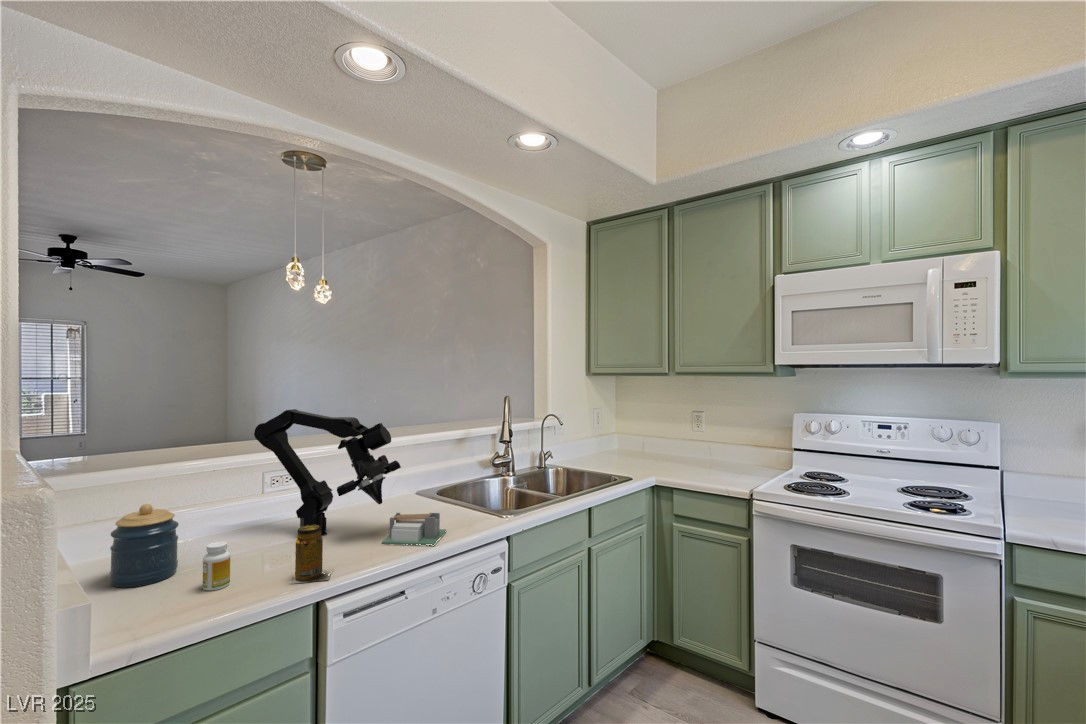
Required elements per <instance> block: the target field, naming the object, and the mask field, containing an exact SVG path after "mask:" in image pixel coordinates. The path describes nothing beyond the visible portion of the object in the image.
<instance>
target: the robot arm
mask: <svg viewBox="0 0 1086 724" xmlns="http://www.w3.org/2000/svg"><path fill="white" fill-rule="evenodd" d="M293 425H298V426H304V427H309V428H313V429H319V430H324V431H325V432H328V433H329V434H331V435H333V436H336V437H338V438H341V439H340V443H339V445H338V447H337V449H338V450H342V449H346V452H347V454H348V457H349V459H350V461H351V467H352V468H353V469H354V470H355V474H356V480H354V479H352V480H350V481H347V482H345V483H343V484H341V485H339V486H337V488H336V492H337V495H338V497H341V496H343V495H346V494H348V493H350V492H353V491H354V490H356V488H357V487H358V488H357V491H363V492H364V493H365V494H366V495H367V496H369V497H370V498H372V500H373V501H375V503H376V504H378V505H382V504H383V493H382V487H383V486H382V485H383V481H384V480H385V479H386V476H384V475H387V474H389V473H392V472H395V471H396V470H399V469H401V468H402V467H401V463H400V462H399V461H398V460H396V459H395V460H394V461H391V462H389V460H388V458H387V455H386V454H385V455H384V454H383V455H380V456H378V457H377V459H375V458H374V456H373V454H371V452H370V451H369V450H371V451H375V450H378V449H380V448H382V447H385V446H386V445H388V444H389V445H390V444H391V442H392V436H391V432H390V431H389V430H388V429H387V428H386V427H385V426H384V425H383V423H382V422H379V423H377V424H375V425H373V426H371V427H370V428H368V427H367V426H365V425H363V424H362V423H361V422H360V421H359V418H356V417H351V416H350V417H349V416H343V417H342V416H338V417H336V416H335V417H333V416H332V417H331V416H326V415H323V414H318V413H317V414H316V413H312V412H307V411H301V410H298V409H297V408H294V409H286V410H284V411H282V412H281V413H280V414H279V415H276V416H275V417H273V418H271V419H269V420H268V421H266V422H262V423H259V424H258V425H257V426H255V429H254V433H253V436H254V438H255V440H256V441H257V442H259V444H261V445H262V446H263V448H266V449H268V450H270V451H272V453H274V455H275V456H276V458H277V459H278V461H279V462H280V464H281V465H282V466H283V468H284V469H285V470H286V472H287V473H288V474H289V476H290V477H291V478H292V480H293V481H294V483H295V484H296V486H297V487H298V489H299V491H300V493H299V494H300V499H301V501H302V505H301V506H300V507H299V508H297V509H296V511H295V513H296V516H297V519H299V528H300V527H303V526H307V525H318V526H321V536H325V535H327V534H328V532H327V517H326V515H325V514H326V513H325V512H327V511H328V508H329V506H330V505H331V504H332V503H333V500H334V494H333V492H332V491H333V489H332V488H331V487H330V486H329V485H328V483H327V480H325V479H324V480H321V481H319V480H316V478H314V476H313V475H312V474H311V472H310V470H309V469H308V468H307V467H306V465H305V464H304V463H303V461H302V459H300V458H301V457H299V455H298V454H297V453H296V451H295V450H294V449H293V447H292V446H291V444H290V442H289V437H288V433H287V430H290V429H291V427H293ZM359 436H361V437H359ZM349 437H351V438H349ZM358 437H359V438H358ZM345 438H349V439H345Z"/></svg>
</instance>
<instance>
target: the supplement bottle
mask: <svg viewBox="0 0 1086 724" xmlns="http://www.w3.org/2000/svg"><path fill="white" fill-rule="evenodd" d="M227 549H228V543H227V542H226V541H215V542H212V543H209V544H207V545H206V554H204V556H203V557H202V589H203V591H209V592H210V591H217V590H222V589H225V588H227V587H228V586H229V585H230V583H231V553H230V551H228V550H227Z"/></svg>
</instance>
